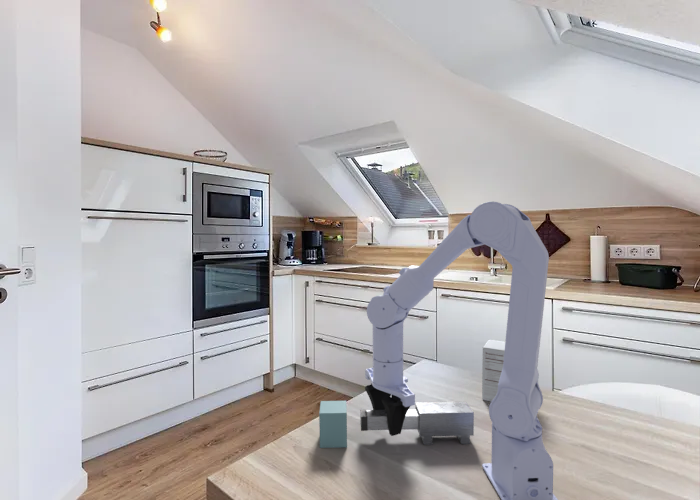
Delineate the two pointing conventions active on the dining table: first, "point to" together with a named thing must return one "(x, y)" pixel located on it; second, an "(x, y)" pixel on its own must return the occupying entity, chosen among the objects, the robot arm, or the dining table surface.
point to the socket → (333, 424)
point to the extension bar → (380, 422)
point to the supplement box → (492, 368)
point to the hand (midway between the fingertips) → (388, 427)
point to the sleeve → (445, 420)
